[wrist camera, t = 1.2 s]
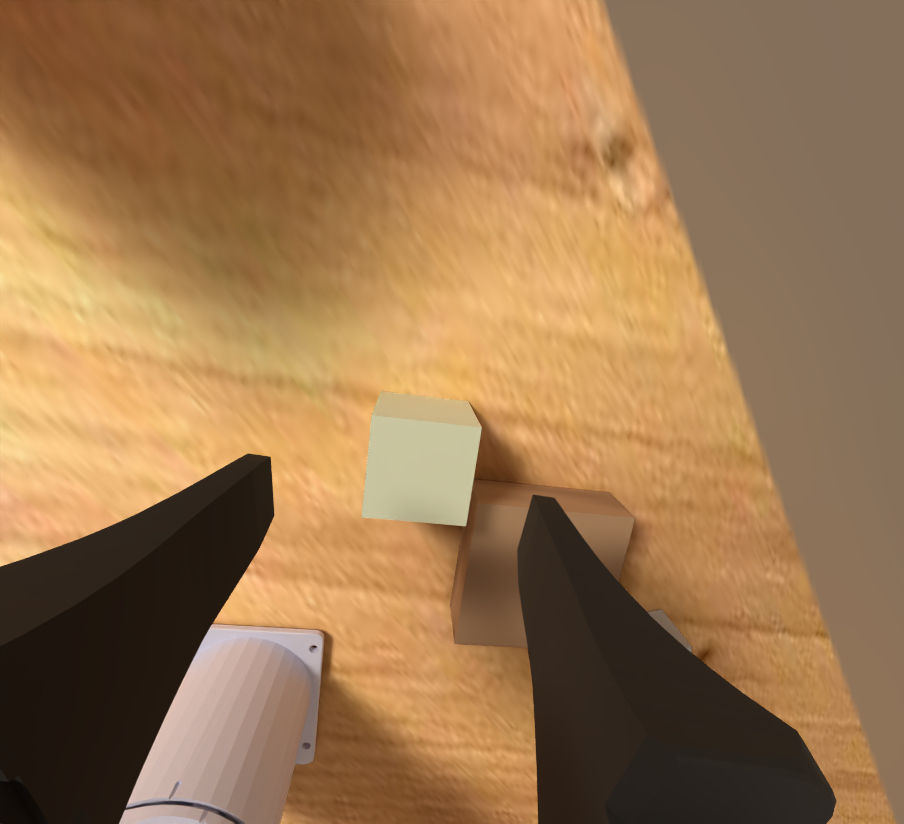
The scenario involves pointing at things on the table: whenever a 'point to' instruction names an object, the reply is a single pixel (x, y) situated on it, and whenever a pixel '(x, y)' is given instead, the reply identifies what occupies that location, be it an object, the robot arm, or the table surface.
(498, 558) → the walnut block
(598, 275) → the table surface
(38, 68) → the table surface
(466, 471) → the sage block
